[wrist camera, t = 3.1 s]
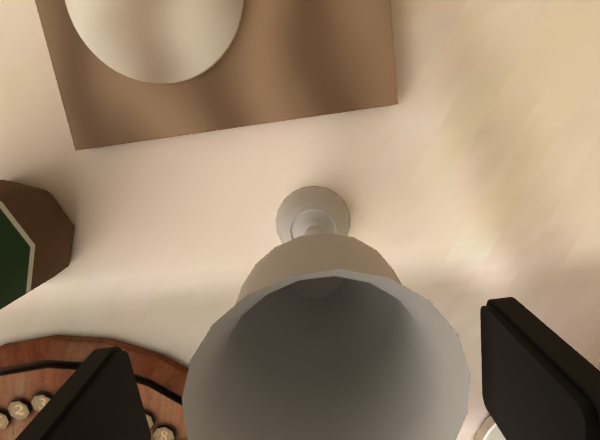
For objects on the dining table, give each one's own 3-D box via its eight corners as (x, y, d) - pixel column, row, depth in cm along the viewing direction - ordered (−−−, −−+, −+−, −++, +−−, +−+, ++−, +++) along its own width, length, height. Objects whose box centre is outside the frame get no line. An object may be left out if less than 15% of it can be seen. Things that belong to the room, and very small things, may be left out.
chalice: (316, 290, 28) (331, 562, 11) (240, 231, 27) (125, 425, 10) (386, 214, 27) (532, 385, 9) (309, 149, 26) (314, 205, 9)
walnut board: (371, -157, 22) (378, -186, 20) (392, 105, 25) (399, 103, 23) (24, -96, 23) (-4, -117, 21) (88, 148, 26) (70, 150, 24)
